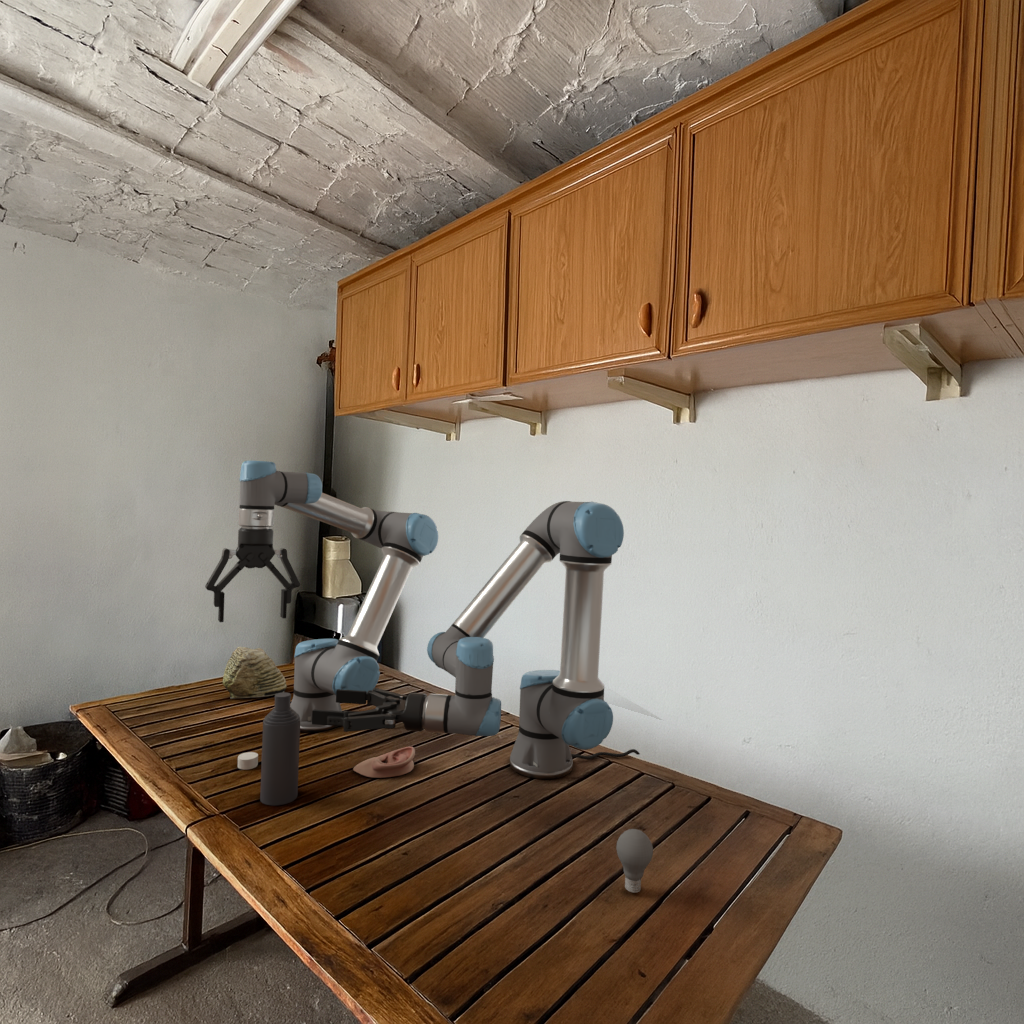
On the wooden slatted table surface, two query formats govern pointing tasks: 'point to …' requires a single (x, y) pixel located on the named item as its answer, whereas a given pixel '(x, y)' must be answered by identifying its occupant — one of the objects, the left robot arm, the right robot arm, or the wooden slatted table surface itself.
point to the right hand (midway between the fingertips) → (325, 705)
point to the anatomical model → (388, 764)
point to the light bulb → (634, 857)
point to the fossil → (252, 674)
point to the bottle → (280, 753)
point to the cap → (247, 760)
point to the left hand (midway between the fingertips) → (252, 619)
